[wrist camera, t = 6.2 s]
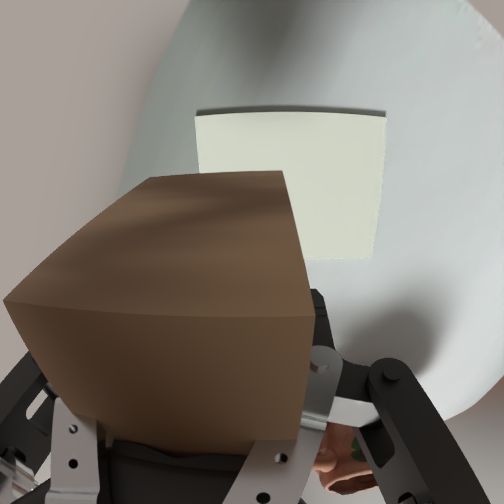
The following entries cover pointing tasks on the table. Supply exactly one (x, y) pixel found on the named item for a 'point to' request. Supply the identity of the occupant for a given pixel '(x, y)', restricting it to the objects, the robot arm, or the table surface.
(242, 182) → the walnut block
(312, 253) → the mat
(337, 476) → the decorative planter
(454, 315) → the table surface
